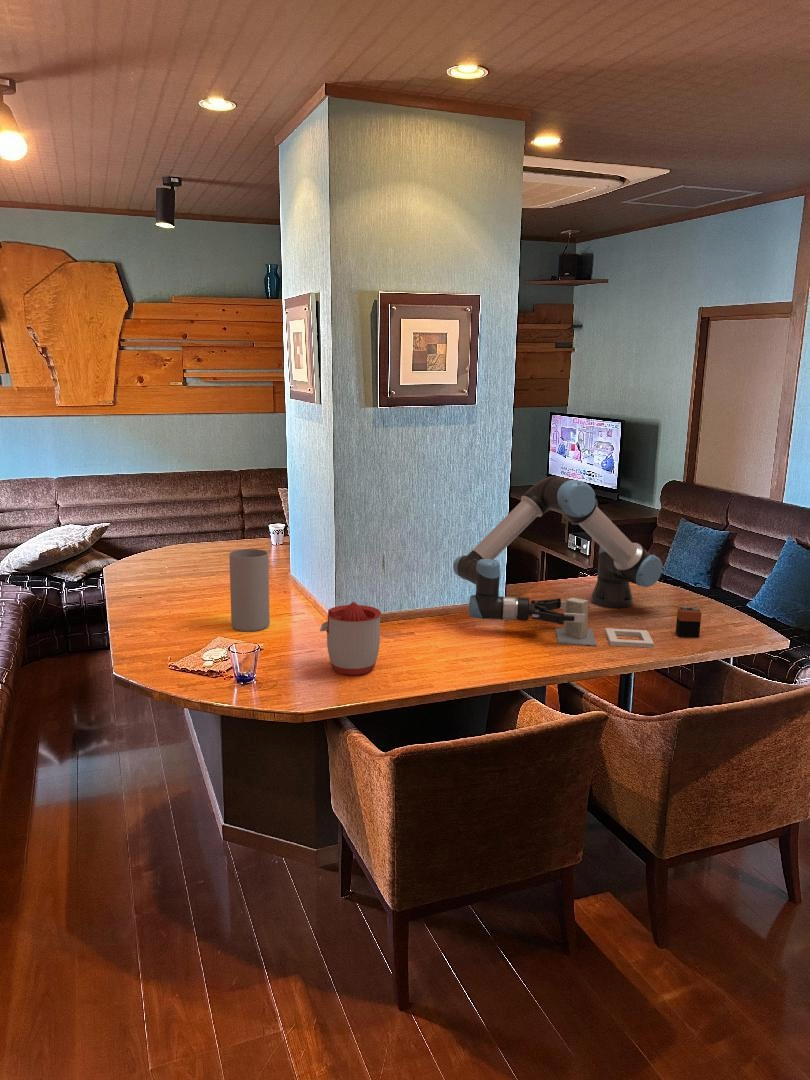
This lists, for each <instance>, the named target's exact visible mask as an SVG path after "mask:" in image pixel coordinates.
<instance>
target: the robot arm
mask: <svg viewBox="0 0 810 1080" xmlns="http://www.w3.org/2000/svg"><path fill="white" fill-rule="evenodd" d="M548 511H554V512H558V513H559V514H561V515H562V516H563V517H564V518H565V519H566V520H567V521H568V522H569V523H570V524H572V525H578V526H580V528H581V529H583V530H584V531H585V532H586V533H587V535H589V536H590V538H592V540H593V541H595V543H597V545H599V549H598V550H599V551H598V561H597V563H598V564H597V578H596V579H597V581H596V583H595V586H594V588H593V590H592V592H591V596H590V601H591V602H592V603H593V604H594V605H597V606H600V607H604V608H613V609H619V608H628V607H631V606H632V605H633V602H634V601H633V599H634V597H633V594H632V590H631V585H630V583H632V584H634V585H637V586H639V587H643V588H648V587H652V586H653V585H655V584H656V583H657V582H658V580H660V577H661V575H662V571H663V563H662V561H661V559H660V558H659V557H658V556H656V554H650V553H649V552H648V551H647V550H646V549H645V548H644V547H643V546H642V545H641V544H640V543H638V542H632V541H631V540H630V539H629V538H628V537H627V536H626V535H625V533H623V532H622V531H621V530H620V529H619V528H618V526H617V525H616V524H614V523H613V522H612V520H611V519H610V518H609V517H608V516H607V515H606V514H605V513H604V512H603V511H602V510H601V509H600V508H599V507H598V500H597V498H596V493H595V490H594V489H593V488H592V486H591V485H590V484H588V483H586V482H584V481H582V480H579V479H572V478H567V477H562V476H558V475H554V476H553V475H552V476H548V477H545V478H543V479H541V480H539V481H538V482H537V483H536V484H534V485H533V486H532V487H530V488H529V489H528V490H527V491H526V492H524V494H523V495H521V498H520V502H519V503H518V504H517V505H516V506H515V507H514V508H513V509H512V510H511V511H510V512H509V513H508V514H507V515H506V516H505V517H504V518H503V519H502V520H501V521H500V522H499V523H498V524H496V526H495V527H494V528H493V529H492V530H491V531H490V532H488V534H487V535H486V536H485V537H484V538H483V539H482V540H481V541H480V542H479V543H478V544H477V545H476V546H475V547H474V548H473V549H472V550H470V551H469V553H468V554H467V555H463V554H462V555H460V556H457V557H456V559H455V560H454V561H453V565H452V569H453V572H454V574H455V575H457V576H459V578H461V579H462V580H464V581H465V580H466V581H468V582H470V583H472V584H474V585H475V594H471V595H470V596H469V606H468V607H469V608H468V615H469V617H471V618H472V619H473V618H474V619H482V620H501V621H502V620H505V622H509V620H510V621H515V620H517V621H520V622H521V621H522V622H527V621H529V617H530V616H531V619H532V620H537V621H544V622H548V623H549V622H550V623H554V624H558V625H561V626H562V625H564V624H565V622H578V623H585V614H576V613H565V612H564V613H561V612H558V611H553V610H557V609H560V610H564V611H566V600H565V601H564V600H562V598H559V597H558V598H552V599H551V598H549V599H541V600H538V599H537V600H534V599H533V600H531V601H530V598H528V597H517V598H516V596H499V593H500V592H499V591H500V578H501V577H500V576H501V568H500V567H501V565H500V562H499V561H498V560H496V558H497V557H498V556H499V555H500V554H501V553H502V552H503V551H504V550H505V549H506V548H507V547H508V546H509V545H511V543H512V542H513V541H514V540H515V539H516V538H517V537H518V536H519V535H520V534H521V533H522V532H523V531H524V530H525V529H526V528H527V527H528V526H529V525H530V524H531V523H532V522H533V521H534V520H535V519H536V518H541V517H542V516H543V515H544V514H545V513H547V512H548Z"/></svg>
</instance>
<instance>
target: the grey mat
mask: <svg viewBox="0 0 810 1080" xmlns="http://www.w3.org/2000/svg"><path fill="white" fill-rule="evenodd" d="M554 630H555V633H556V634H557V635H556V634H555V635H556V638H557V644H558V645H563V644H569V645H568V646H581V645H590V646H589V647H597V646H598V645H597V644H598V643H597V640H596V637H595V634H594V632H593V629H592V628H587V636H586V637H584V638H582V639H579V638H574V637H570V636H566V635H565V627H558V626H557V627H555V628H554Z"/></svg>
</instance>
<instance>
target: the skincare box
mask: <svg viewBox="0 0 810 1080" xmlns="http://www.w3.org/2000/svg"><path fill="white" fill-rule="evenodd" d="M565 601H566V610H565V612H564V613H576V614H585V623H578V622H564V628H565V635H566V636H570V637H574V638H579V639H582V638H584V637H586V636H587V629H588V623H589V622H588V619H589V600H587V599H583V598H578V597H577V598H576V597H574V596H573V597H569V598H568V599H565Z"/></svg>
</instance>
